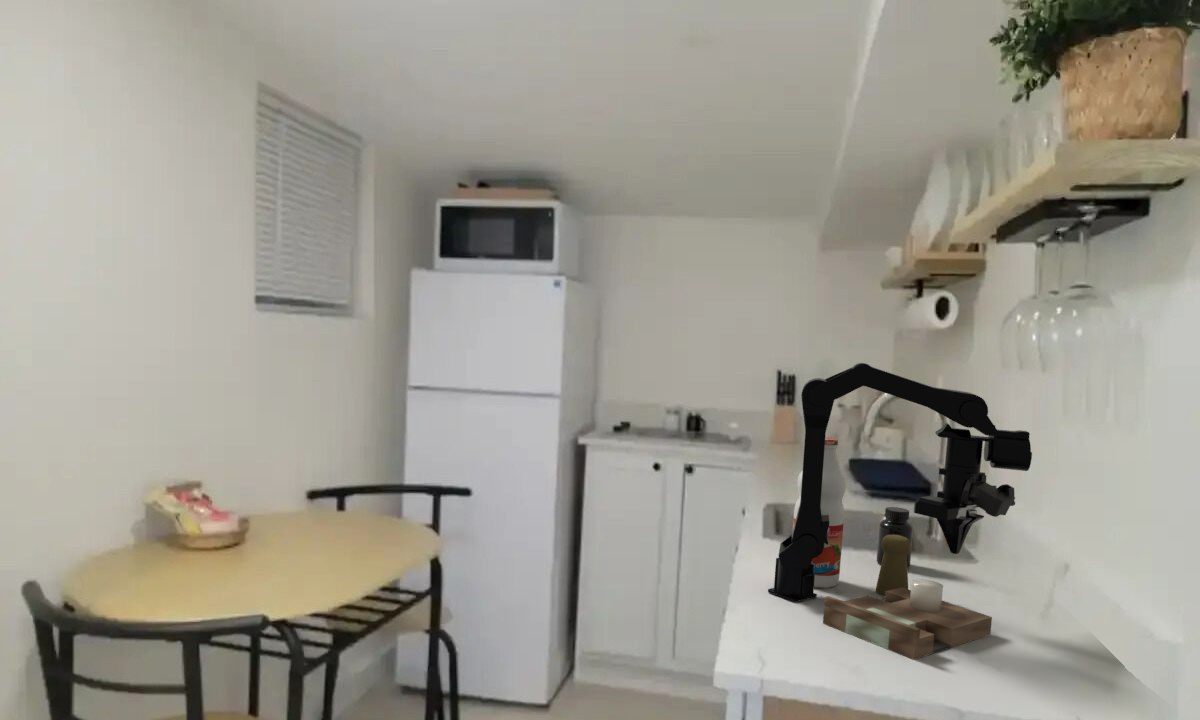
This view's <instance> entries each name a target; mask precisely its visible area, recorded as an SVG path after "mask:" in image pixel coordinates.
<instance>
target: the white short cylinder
mask: <svg viewBox="0 0 1200 720" xmlns="http://www.w3.org/2000/svg"><path fill="white" fill-rule="evenodd" d="M910 583H911V584H910V590H911V593H910V606H911V607H913V608H915V609H918V610H922V611H928V612H938V611H940V610H941V604H942V601H943V590H944V589H943V588H944V585H943V584H942V583H940V582H937V581H935V580H931V579H923V578H916V579H915V578H914V579H912V580H911V582H910Z"/></svg>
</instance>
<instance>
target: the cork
mask: <svg viewBox="0 0 1200 720" xmlns="http://www.w3.org/2000/svg"><path fill="white" fill-rule="evenodd" d="M881 546H882V549H883V551H884V554H883V559H882V563H881V565H880V567H879V573H878V577H877V582H876V586H875V591H874V592H875V593H876V594H878V595H879V596H882V597H885V591H889V590H893V589H897V588H905V589H908V590H909V578H908V574H909V573H908V568H907V554H908V553H909V551H910V547H911V545H910V541H909V540H908V539H907V538H906V537H903V536H900V535H886V536H884V538H883V539H882V545H881Z"/></svg>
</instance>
